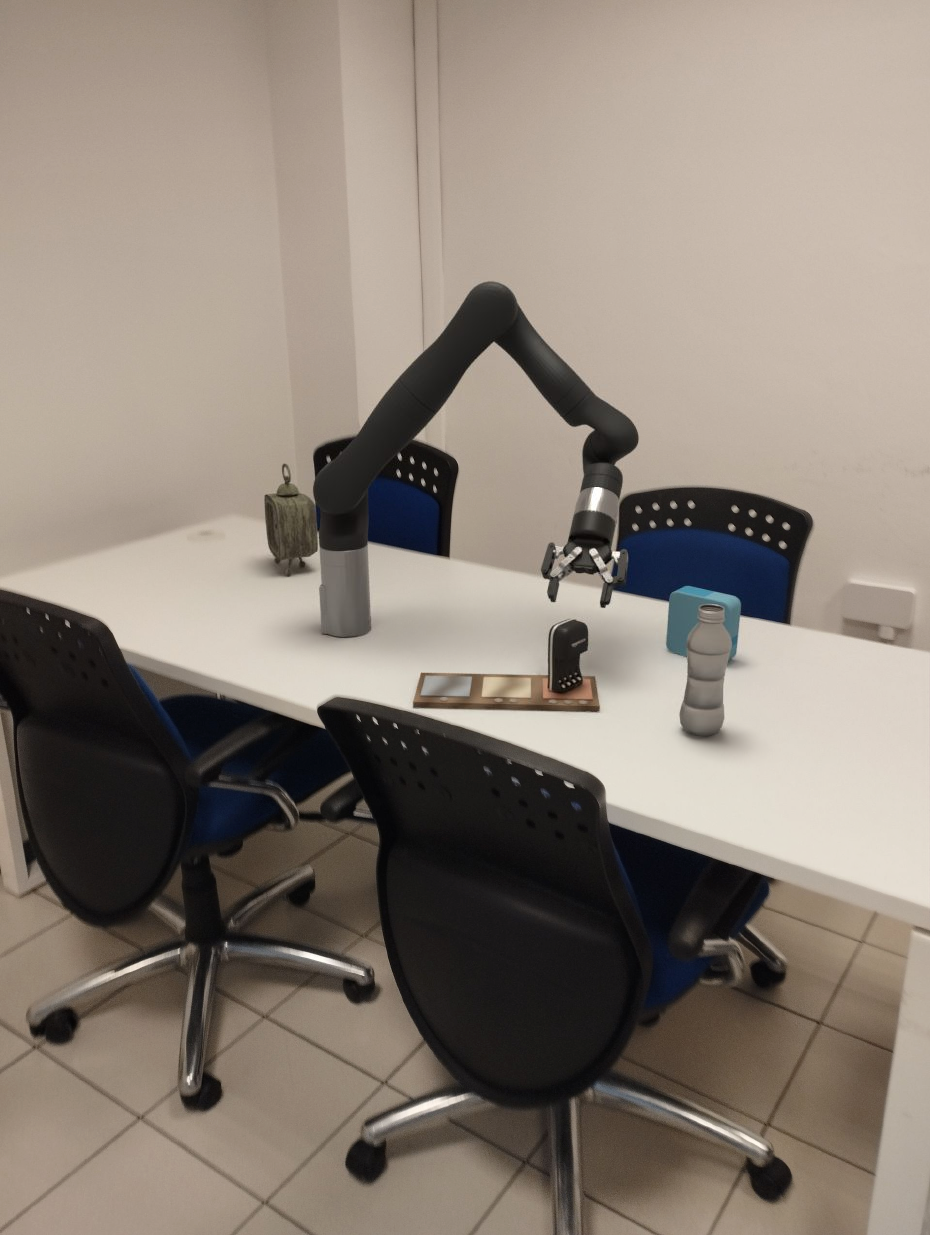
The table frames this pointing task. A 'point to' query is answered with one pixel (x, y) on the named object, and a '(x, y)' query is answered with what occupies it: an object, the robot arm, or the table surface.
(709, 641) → the plastic bottle
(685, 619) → the data package
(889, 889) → the table surface
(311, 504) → the tabletop clock
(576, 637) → the battery charger
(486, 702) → the tile board
